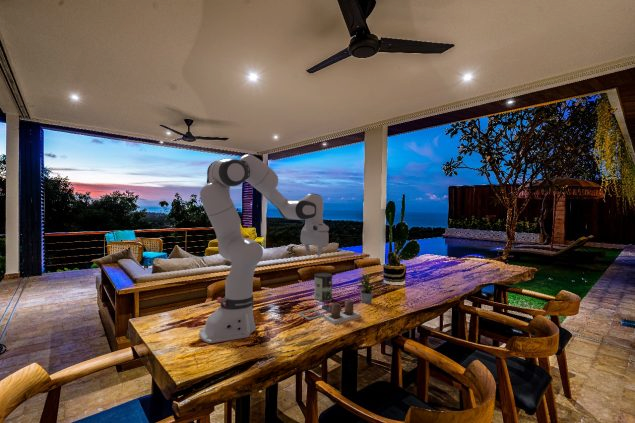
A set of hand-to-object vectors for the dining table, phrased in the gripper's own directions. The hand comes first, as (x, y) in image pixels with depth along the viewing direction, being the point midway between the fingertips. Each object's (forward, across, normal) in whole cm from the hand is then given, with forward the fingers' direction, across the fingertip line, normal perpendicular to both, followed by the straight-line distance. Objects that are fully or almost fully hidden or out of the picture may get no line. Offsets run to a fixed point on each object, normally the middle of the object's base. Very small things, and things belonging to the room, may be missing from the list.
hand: (313, 254), depth 148 cm
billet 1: (+28, +16, +2) cm, 33 cm away
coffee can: (+29, -14, +17) cm, 36 cm away
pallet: (+29, +17, +6) cm, 34 cm away
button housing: (+29, +4, +9) cm, 31 cm away
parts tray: (+29, +6, -4) cm, 30 cm away
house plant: (+29, +3, +33) cm, 44 cm away
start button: (+28, +4, +9) cm, 30 cm away
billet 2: (+28, +16, +10) cm, 34 cm away
